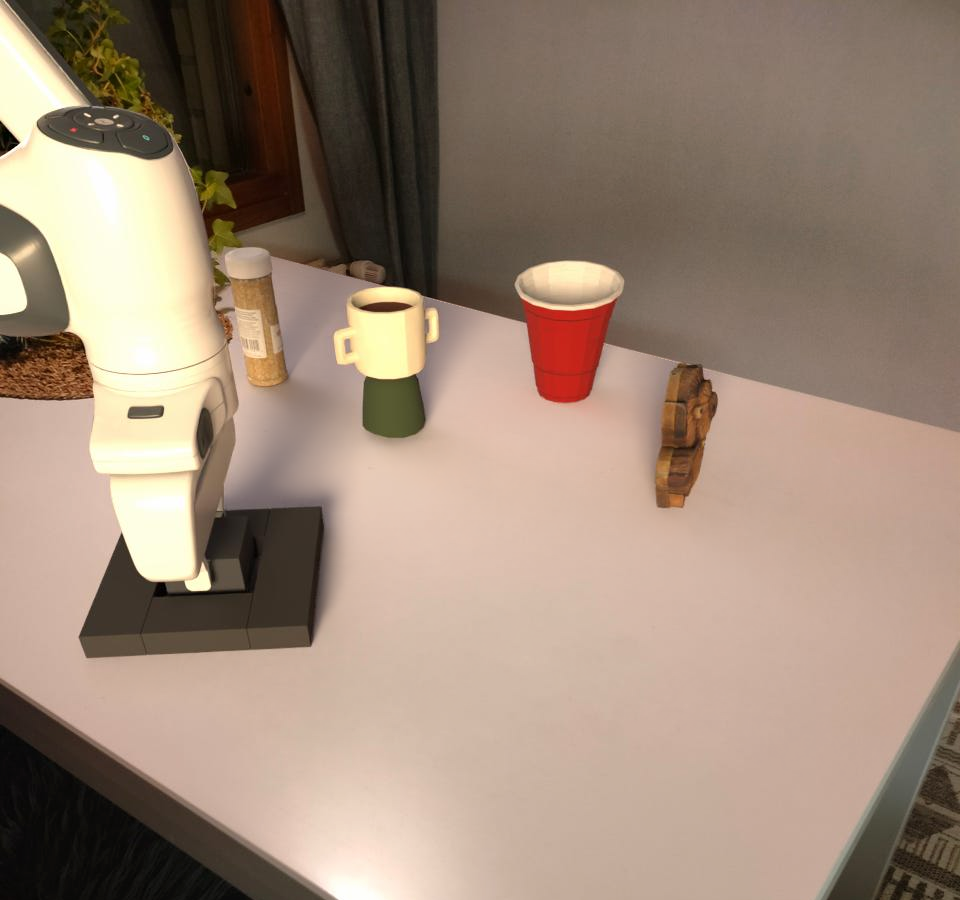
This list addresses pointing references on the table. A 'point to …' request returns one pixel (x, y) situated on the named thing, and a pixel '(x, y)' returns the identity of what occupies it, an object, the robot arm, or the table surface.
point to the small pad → (225, 558)
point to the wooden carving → (683, 433)
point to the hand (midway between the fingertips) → (208, 557)
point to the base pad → (215, 598)
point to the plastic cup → (567, 323)
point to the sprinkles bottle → (257, 315)
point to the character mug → (388, 356)
